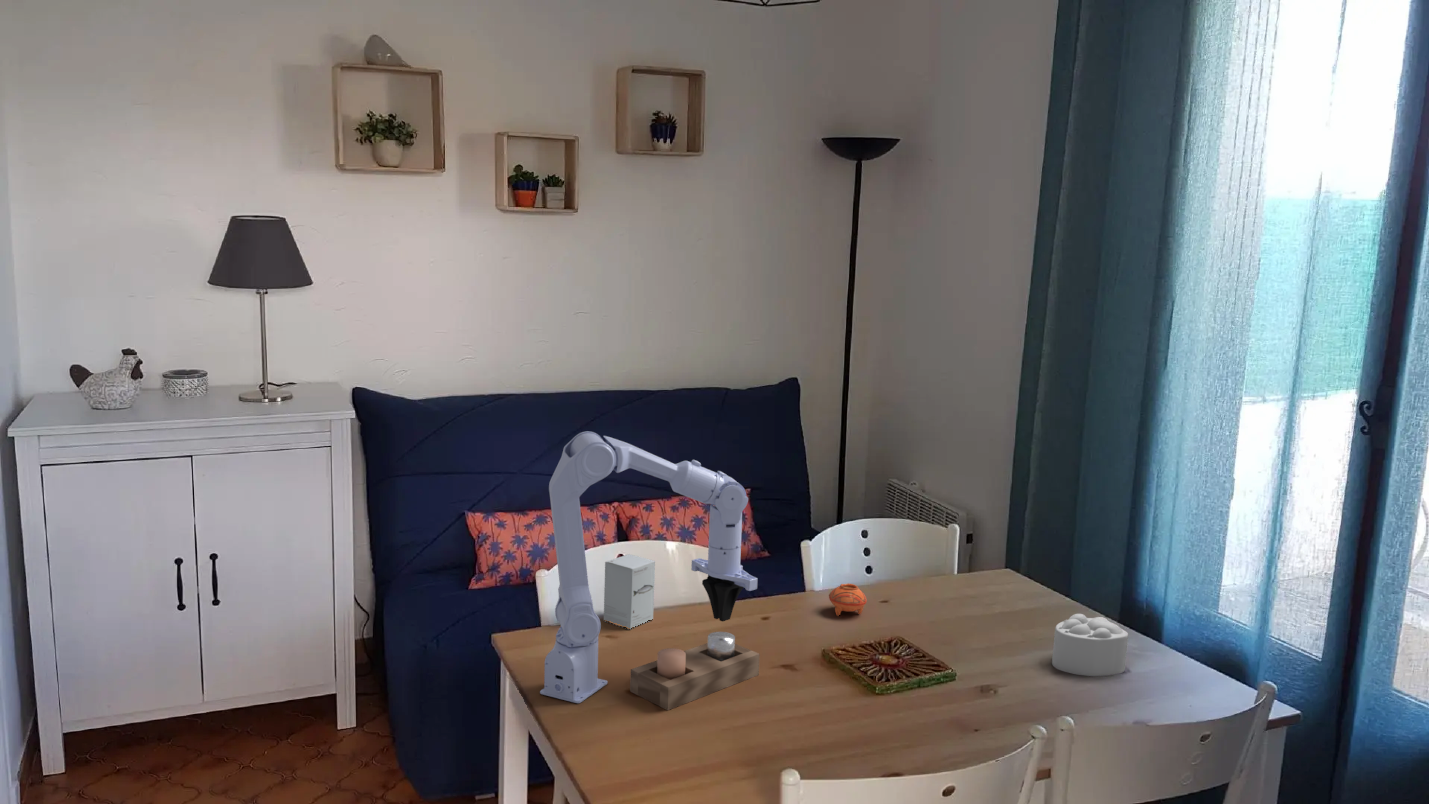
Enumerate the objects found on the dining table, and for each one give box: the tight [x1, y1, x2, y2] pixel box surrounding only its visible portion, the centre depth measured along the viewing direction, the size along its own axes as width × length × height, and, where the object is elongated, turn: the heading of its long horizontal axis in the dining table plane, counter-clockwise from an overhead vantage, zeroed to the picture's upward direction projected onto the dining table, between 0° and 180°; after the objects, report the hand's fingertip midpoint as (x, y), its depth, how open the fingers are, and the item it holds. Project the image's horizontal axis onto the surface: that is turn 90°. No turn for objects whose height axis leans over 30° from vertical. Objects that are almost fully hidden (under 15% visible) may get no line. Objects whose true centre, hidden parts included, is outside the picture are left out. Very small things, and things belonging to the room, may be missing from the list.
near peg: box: [656, 647, 686, 680], centre depth 187 cm, size 5×5×4 cm
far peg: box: [707, 631, 736, 661], centre depth 196 cm, size 5×5×4 cm
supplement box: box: [603, 553, 656, 630], centre depth 220 cm, size 7×7×13 cm
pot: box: [828, 583, 868, 617], centre depth 229 cm, size 8×8×7 cm
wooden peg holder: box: [629, 642, 761, 711], centre depth 192 cm, size 22×10×4 cm, turn 135°
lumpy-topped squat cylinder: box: [1051, 613, 1129, 677], centre depth 206 cm, size 10×13×9 cm
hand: (722, 618), depth 195 cm, fingers closed
